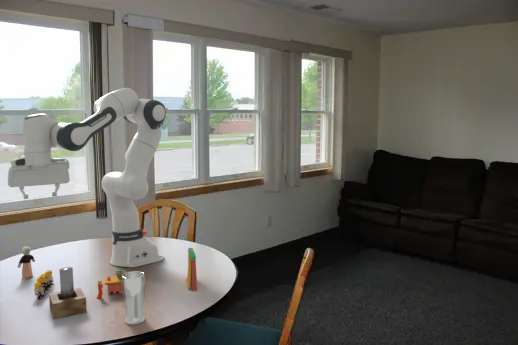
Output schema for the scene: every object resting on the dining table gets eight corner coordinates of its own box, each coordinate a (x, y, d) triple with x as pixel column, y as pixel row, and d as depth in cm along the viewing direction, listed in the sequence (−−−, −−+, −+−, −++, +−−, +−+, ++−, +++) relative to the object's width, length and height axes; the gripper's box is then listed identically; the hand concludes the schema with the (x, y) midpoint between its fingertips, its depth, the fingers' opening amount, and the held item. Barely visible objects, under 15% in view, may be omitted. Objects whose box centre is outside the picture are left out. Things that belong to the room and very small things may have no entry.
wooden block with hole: (81, 301, 162) (80, 287, 161) (86, 312, 154) (85, 297, 153) (49, 307, 157) (48, 293, 156) (53, 319, 149) (52, 303, 148)
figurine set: (31, 301, 163) (30, 283, 162) (45, 284, 179) (44, 267, 178) (41, 300, 163) (40, 282, 162) (55, 283, 179) (54, 267, 178)
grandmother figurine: (25, 281, 181) (23, 249, 179) (17, 280, 182) (14, 248, 180) (38, 274, 188) (36, 243, 187) (30, 273, 189) (28, 243, 188)
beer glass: (125, 316, 151) (124, 271, 149) (147, 315, 151) (146, 270, 149) (121, 326, 144) (119, 278, 142) (144, 325, 144) (142, 278, 142)
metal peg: (73, 306, 158) (71, 266, 156) (75, 310, 155) (73, 269, 153) (61, 308, 156) (58, 268, 154) (62, 313, 153) (60, 271, 151)
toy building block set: (197, 291, 172) (196, 253, 170) (96, 301, 163) (94, 261, 161) (193, 279, 184) (192, 244, 182) (99, 287, 175) (97, 251, 173)
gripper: (67, 157, 176) (69, 193, 178) (5, 160, 166) (8, 198, 168) (70, 158, 171) (72, 196, 173) (6, 161, 161) (9, 201, 162)
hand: (40, 197), depth 170 cm, fingers open, 8 cm apart
